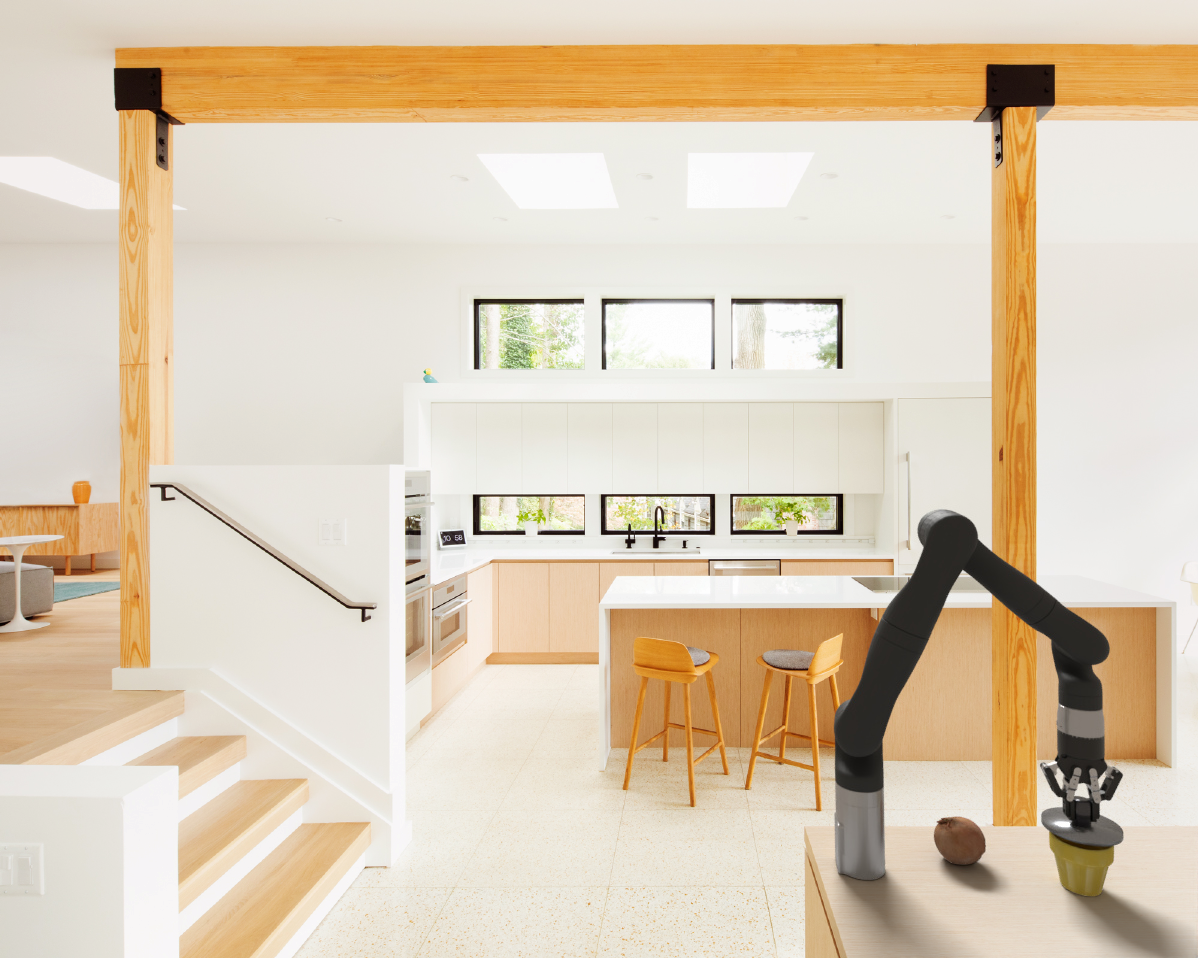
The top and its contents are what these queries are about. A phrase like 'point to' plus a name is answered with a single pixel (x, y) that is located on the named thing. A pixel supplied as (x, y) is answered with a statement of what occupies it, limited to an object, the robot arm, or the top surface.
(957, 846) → the onion
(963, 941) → the top surface
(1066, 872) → the plant pot
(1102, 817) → the lid
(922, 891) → the top surface
